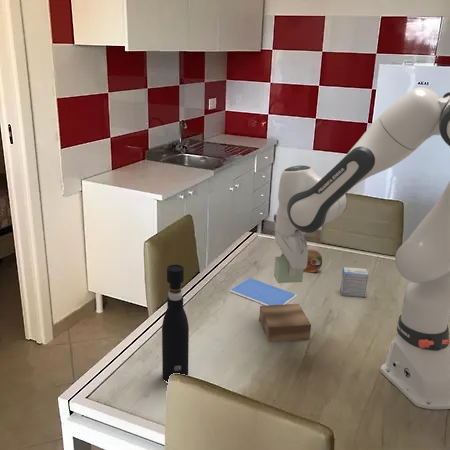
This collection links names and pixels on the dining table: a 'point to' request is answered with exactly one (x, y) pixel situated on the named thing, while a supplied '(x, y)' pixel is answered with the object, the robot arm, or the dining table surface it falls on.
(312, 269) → the tin
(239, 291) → the blue rectangular panel
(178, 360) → the black bottle
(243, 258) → the dining table surface
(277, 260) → the sage brick
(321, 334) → the dining table surface
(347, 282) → the medicine box
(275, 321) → the walnut brick
